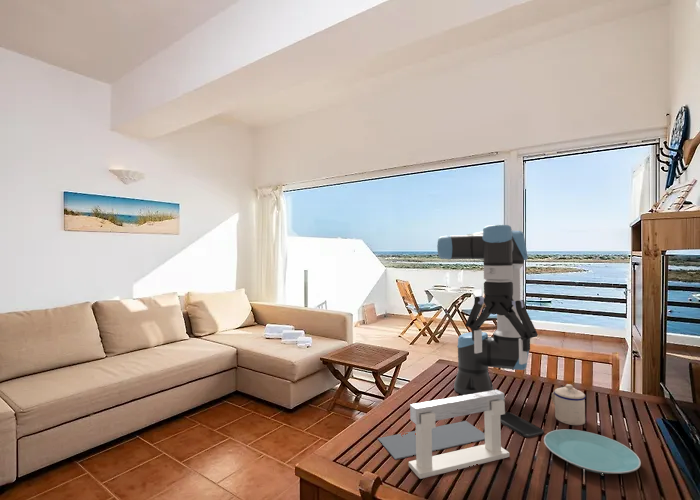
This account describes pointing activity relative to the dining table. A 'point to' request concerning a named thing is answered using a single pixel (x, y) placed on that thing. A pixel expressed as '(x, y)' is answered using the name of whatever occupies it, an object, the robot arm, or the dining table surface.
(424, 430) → the rail cradle stand
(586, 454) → the plate
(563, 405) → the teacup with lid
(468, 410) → the steel rail
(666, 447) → the dining table surface
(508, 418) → the phone
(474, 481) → the dining table surface
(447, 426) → the slate mat
